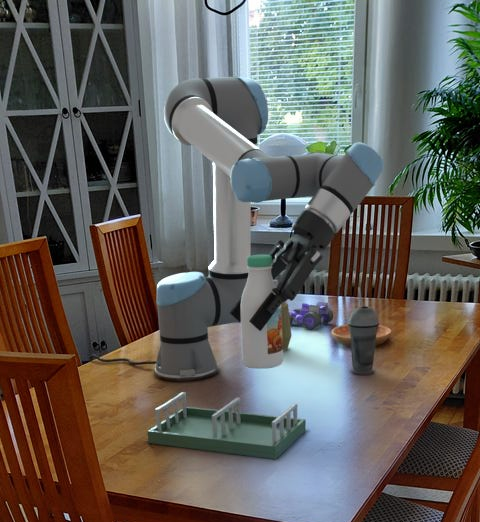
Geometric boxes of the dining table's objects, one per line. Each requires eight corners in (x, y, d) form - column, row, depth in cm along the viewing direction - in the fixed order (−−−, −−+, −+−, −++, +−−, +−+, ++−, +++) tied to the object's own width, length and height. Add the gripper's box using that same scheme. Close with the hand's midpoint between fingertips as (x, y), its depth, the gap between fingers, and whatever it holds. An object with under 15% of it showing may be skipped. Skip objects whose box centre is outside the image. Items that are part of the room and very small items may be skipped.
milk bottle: (254, 372, 161) (250, 261, 152) (235, 363, 167) (230, 255, 158) (290, 365, 164) (288, 256, 155) (270, 356, 170) (267, 251, 161)
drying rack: (148, 443, 171) (145, 412, 168) (186, 417, 184) (183, 388, 181) (275, 459, 160) (274, 426, 157) (305, 431, 173) (305, 400, 170)
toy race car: (290, 318, 262) (290, 296, 260) (333, 323, 254) (333, 301, 252) (272, 325, 256) (272, 303, 253) (316, 330, 248) (316, 307, 245)
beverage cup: (376, 376, 205) (379, 290, 196) (345, 375, 206) (347, 290, 198) (378, 367, 211) (381, 284, 203) (348, 367, 213) (350, 284, 204)
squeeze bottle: (297, 347, 232) (296, 278, 224) (282, 354, 226) (280, 284, 218) (271, 344, 236) (269, 276, 228) (255, 351, 230) (253, 282, 222)
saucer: (394, 347, 228) (395, 336, 226) (333, 349, 228) (334, 338, 227) (386, 332, 242) (387, 322, 241) (329, 335, 243) (329, 324, 241)
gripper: (362, 241, 153) (284, 345, 154) (304, 230, 170) (234, 323, 171) (337, 212, 149) (256, 319, 150) (280, 203, 166) (208, 299, 167)
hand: (244, 321), depth 160 cm, fingers closed on milk bottle, 8 cm apart
